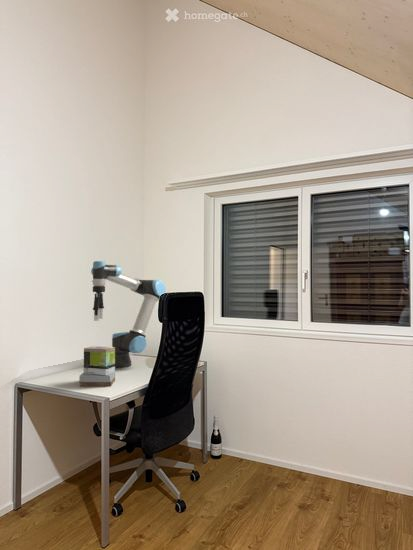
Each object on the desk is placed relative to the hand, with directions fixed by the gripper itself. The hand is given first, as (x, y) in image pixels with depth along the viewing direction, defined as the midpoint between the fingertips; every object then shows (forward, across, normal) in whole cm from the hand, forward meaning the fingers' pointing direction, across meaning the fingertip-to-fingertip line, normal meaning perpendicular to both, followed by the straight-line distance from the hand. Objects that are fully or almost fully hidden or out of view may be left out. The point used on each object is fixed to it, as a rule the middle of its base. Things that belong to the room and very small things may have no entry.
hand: (98, 319), depth 249 cm
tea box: (+29, +20, +5) cm, 36 cm away
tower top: (+32, +20, +4) cm, 38 cm away
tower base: (+36, +20, +4) cm, 41 cm away
